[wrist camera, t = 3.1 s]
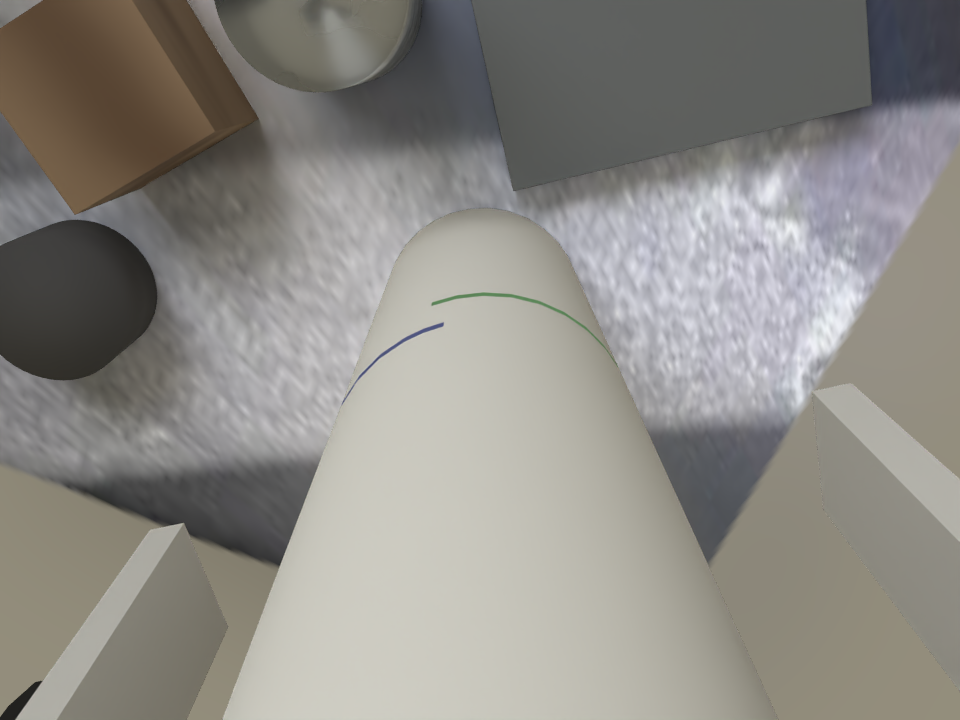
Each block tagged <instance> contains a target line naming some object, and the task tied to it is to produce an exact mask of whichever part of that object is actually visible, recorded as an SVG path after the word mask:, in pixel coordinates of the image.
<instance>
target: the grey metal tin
mask: <svg viewBox="0 0 960 720" xmlns="http://www.w3.org/2000/svg"><path fill="white" fill-rule="evenodd" d="M214 1H215V5H216V9H217V12H218V16H219V18H220V21H221V23H222V26H223V28H224V30H225V32H226V34H227V36H228V37H229V39H230V41H231V42H232V44H233V45H234V47H235V48H236V49H237V51H238V52H239V53H240V54H241V55H242V57H243V58H244V59H245V60H246V61H247V62H248V63H249V64H250V65H251V66H252V67H254V68H255V69H256V70H257V71H258V72H260V73H261V74H263V75H264V76H266V77H267V78H269V79H271V80H273V81H274V82H276V83H278V84H281V85H283V86H286V87H289V88H292V89H296V90H300V91H307V92H329V91H334V90H339V89H343V88H347V87H351V86H354V85H358V84H362V83H365V82H369V81H372V80H375V79H377V78H379V77H381V76H383V75H385V74H387V73H388V72H390V71H391V70H393V69H394V68H395V67H396V66H397V65H398V64H399V63H400V62H401V61H402V60H403V59H404V58H405V56H406V55H407V54H408V52H409V50H410V49H411V47H412V46H413V43H414V41H415V39H416V37H417V34H418V31H419V28H420V23H421V17H422V0H214Z"/></svg>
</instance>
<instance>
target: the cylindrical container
mask: <svg viewBox="0 0 960 720" xmlns="http://www.w3.org/2000/svg"><path fill="white" fill-rule="evenodd" d="M222 720H778V718H777V715H776V713H775V711H774V709H773V706H772V704H771V702H770V700H769V698H768V696H767V693H766V691H765V689H764V687H763V684H762V682H761V680H760V678H759V676H758V673H757V671H756V669H755V667H754V665H753V663H752V660H751V658H750V656H749V654H748V652H747V650H746V647H745V645H744V643H743V641H742V639H741V636H740V634H739V632H738V629H737V627H736V625H735V623H734V621H733V619H732V616H731V614H730V612H729V610H728V608H727V606H726V603H725V601H724V599H723V597H722V594H721V592H720V590H719V588H718V586H717V583H716V581H715V579H714V577H713V575H712V573H711V570H710V568H709V566H708V564H707V561H706V559H705V557H704V555H703V553H702V550H701V548H700V546H699V544H698V542H697V539H696V537H695V535H694V533H693V531H692V528H691V526H690V524H689V522H688V520H687V517H686V515H685V513H684V511H683V509H682V506H681V504H680V502H679V500H678V498H677V495H676V493H675V491H674V489H673V487H672V484H671V482H670V480H669V478H668V476H667V473H666V471H665V469H664V467H663V465H662V462H661V460H660V458H659V456H658V454H657V451H656V449H655V447H654V445H653V443H652V441H651V438H650V436H649V434H648V432H647V430H646V427H645V425H644V423H643V421H642V419H641V416H640V414H639V412H638V410H637V408H636V405H635V403H634V401H633V399H632V397H631V394H630V392H629V390H628V388H627V386H626V383H625V381H624V379H623V377H622V375H621V372H620V370H619V368H618V366H617V364H616V361H615V359H614V357H613V355H612V353H611V350H610V348H609V346H608V344H607V342H606V339H605V337H604V335H603V333H602V331H601V328H600V326H599V324H598V322H597V320H596V317H595V315H594V313H593V311H592V309H591V306H590V304H589V302H588V300H587V298H586V295H585V293H584V291H583V289H582V287H581V284H580V282H579V280H578V278H577V276H576V273H575V271H574V269H573V267H572V265H571V263H570V260H569V258H568V256H567V255H566V253H565V252H564V250H563V249H562V247H561V246H560V244H559V243H558V242H557V241H556V240H555V239H554V238H553V237H552V236H551V235H550V234H549V233H548V232H547V231H546V230H545V229H543V228H542V227H540V226H539V225H537V224H536V223H534V222H533V221H531V220H530V219H528V218H525V217H523V216H520V215H517V214H515V213H512V212H510V211H504V210H498V209H492V208H478V209H466V210H462V211H458V212H454V213H450V214H448V215H446V216H444V217H441V218H439V219H437V220H435V221H433V222H432V223H430V224H429V225H427V226H426V227H425V228H423V229H422V230H420V231H419V232H418V233H417V234H416V235H415V236H414V237H413V238H412V239H411V240H410V241H409V242H408V243H407V244H406V246H405V247H404V249H403V251H402V252H401V254H400V255H399V257H398V259H397V260H396V262H395V265H394V267H393V270H392V273H391V275H390V278H389V280H388V283H387V285H386V288H385V291H384V293H383V296H382V298H381V301H380V304H379V306H378V309H377V311H376V314H375V317H374V319H373V322H372V324H371V327H370V330H369V333H368V335H367V338H366V341H365V343H364V346H363V349H362V351H361V354H360V357H359V360H358V362H357V365H356V368H355V370H354V373H353V376H352V378H351V381H350V384H349V386H348V389H347V392H346V395H345V397H344V400H343V403H342V406H341V408H340V411H339V413H338V416H337V418H336V421H335V424H334V426H333V429H332V431H331V434H330V437H329V439H328V442H327V445H326V447H325V450H324V452H323V455H322V458H321V460H320V463H319V465H318V468H317V471H316V473H315V476H314V479H313V481H312V484H311V486H310V489H309V492H308V494H307V497H306V499H305V502H304V505H303V507H302V510H301V513H300V515H299V518H298V520H297V523H296V526H295V528H294V531H293V533H292V536H291V539H290V541H289V544H288V547H287V549H286V552H285V554H284V557H283V560H282V562H281V565H280V567H279V570H278V573H277V575H276V578H275V581H274V583H273V586H272V589H271V591H270V594H269V596H268V599H267V602H266V604H265V607H264V610H263V612H262V615H261V618H260V620H259V623H258V626H257V628H256V631H255V634H254V636H253V639H252V642H251V644H250V647H249V650H248V652H247V655H246V658H245V660H244V663H243V666H242V668H241V671H240V674H239V676H238V679H237V682H236V684H235V687H234V689H233V692H232V695H231V697H230V700H229V703H228V705H227V708H226V711H225V713H224V716H223V719H222Z"/></svg>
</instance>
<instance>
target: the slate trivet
mask: <svg viewBox="0 0 960 720" xmlns="http://www.w3.org/2000/svg"><path fill="white" fill-rule="evenodd" d="M471 2H472V7H473V11H474V16H475V20H476V25H477V29H478V34H479V38H480V43H481V47H482V52H483V56H484V61H485V65H486V70H487V75H488V79H489V84H490V88H491V93H492V97H493V102H494V106H495V111H496V115H497V120H498V124H499V129H500V133H501V138H502V142H503V147H504V151H505V156H506V161H507V165H508V170H509V174H510V179H511V183H512V187H513V191H516V190H521V189H525V188H529V187H533V186H537V185H541V184H545V183H550V182H554V181H558V180H562V179H566V178H570V177H575V176H579V175H583V174H587V173H591V172H595V171H600V170H604V169H608V168H612V167H616V166H620V165H625V164H629V163H633V162H637V161H641V160H645V159H650V158H654V157H658V156H662V155H666V154H670V153H675V152H679V151H683V150H687V149H691V148H695V147H700V146H704V145H708V144H712V143H716V142H720V141H724V140H729V139H733V138H737V137H741V136H745V135H749V134H754V133H758V132H762V131H766V130H770V129H774V128H779V127H783V126H787V125H791V124H795V123H799V122H804V121H808V120H812V119H816V118H820V117H824V116H829V115H833V114H837V113H841V112H845V111H849V110H854V109H858V108H862V107H866V106H870V105H872V96H871V79H870V62H869V45H868V28H867V10H866V0H471Z"/></svg>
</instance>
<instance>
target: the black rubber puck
mask: <svg viewBox="0 0 960 720" xmlns="http://www.w3.org/2000/svg"><path fill="white" fill-rule="evenodd" d="M156 304H157V289H156V284H155V279H154V276H153V273H152V271H151V269H150V266H149V264H148V263H147V261H146V259H145V258H144V256H143V255H142V254H141V252H140V251H139V250H138V249H137V247H136V246H135V245H134V244H132V243H131V242H130V241H129V240H128V239H127V238H125V237H124V236H123V235H121V234H120V233H118V232H117V231H115V230H113V229H111V228H109V227H107V226H105V225H102V224H99V223H95V222H91V221H85V220H67V221H62V222H58V223H55V224H52V225H49V226H47V227H44V228H42V229H39V230H37V231H35V232H32V233H30V234H27V235H25V236H22V237H20V238H17V239H15V240H12V241H10V242H7V243H5V244H3V245H1V246H0V355H1V356H3V357H4V358H5V359H6V360H7V361H9V362H10V363H12V364H13V365H14V366H16V367H18V368H20V369H21V370H23V371H26V372H28V373H30V374H32V375H36V376H39V377H42V378H47V379H53V380H73V379H79V378H82V377H86V376H89V375H91V374H93V373H95V372H97V371H98V370H100V369H102V368H103V367H104V366H105V365H107V364H108V363H109V362H110V361H111V360H113V359H114V358H115V357H116V356H117V355H119V354H120V353H121V352H122V351H123V350H124V349H126V348H127V347H128V346H129V345H130V344H132V343H133V342H134V341H135V340H136V339H137V338H139V337H140V336H141V335H142V334H143V333H144V332H145V330H146V329H147V328H148V326H149V324H150V323H151V321H152V319H153V316H154V314H155V309H156Z"/></svg>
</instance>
